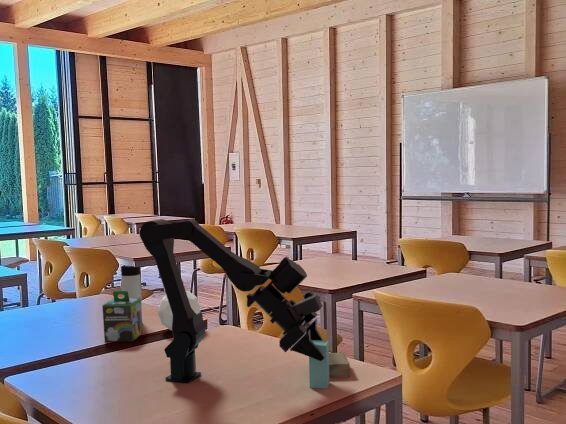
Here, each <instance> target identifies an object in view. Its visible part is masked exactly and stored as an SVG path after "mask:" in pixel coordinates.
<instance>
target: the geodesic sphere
mask: <svg viewBox="0 0 566 424" xmlns="http://www.w3.org/2000/svg"><path fill="white" fill-rule="evenodd" d="M185 291H186V294H187V297H188V300H189V303H190V306H191V308H192V310H193V311H194V312H195V313H196V314H198V313H200V312H201V305H200V302H199V299H198V297H197V296H196V295H195V294H194V293H192V292H190V291H188V290H187V289H185ZM157 315H158V317H159V319H160V323H161V325H163V326H164V327H165V328H167V329H168V330H170V331H172V320H173V314H172V311H171V308H170V305H169V302H168V299H167V295H166V294H165V295H164V296H163V298H162V299H161V300H160V302H159V306H158V310H157Z"/></svg>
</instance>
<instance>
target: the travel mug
mask: <svg viewBox="0 0 566 424" xmlns="http://www.w3.org/2000/svg"><path fill="white" fill-rule="evenodd" d="M120 272H121V274H120V277H121V278H120V282H121V283H120V284H121V291H127V292H128V295H129V298H141V299H142V284H141V282H142V280H141V266H139V265H138V266H135V265H121V266H120ZM124 297H125V296H124V295H123V294H121V298H124ZM142 305H143V304H142V302H141V313H142V314H143V308H142Z"/></svg>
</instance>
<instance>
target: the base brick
mask: <svg viewBox="0 0 566 424" xmlns="http://www.w3.org/2000/svg"><path fill="white" fill-rule="evenodd" d="M344 377H345V378H347V377H351V364H350V362H349V360H348V357H347V355H346V353H345V352H329V378H344Z"/></svg>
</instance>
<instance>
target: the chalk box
mask: <svg viewBox="0 0 566 424" xmlns="http://www.w3.org/2000/svg"><path fill="white" fill-rule="evenodd" d="M122 294H123V295H124V296H125V297H124V298H122V297H119V295H122ZM112 295H113V299H111V300H108V301H107V302H106V303H104V304H102V320H103V321H102V322H103V334H104V342H123V343H124V342H127V343H128V342H131V343H133V342H135V340H137V339H138V337H140V336H141V335H142V334H143V333H144V330H143V329H144V328H143V312H142V313H141V303H142V297H141V298H129V295H128V292H127V291H122V290H114V291H113V292H112Z"/></svg>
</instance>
